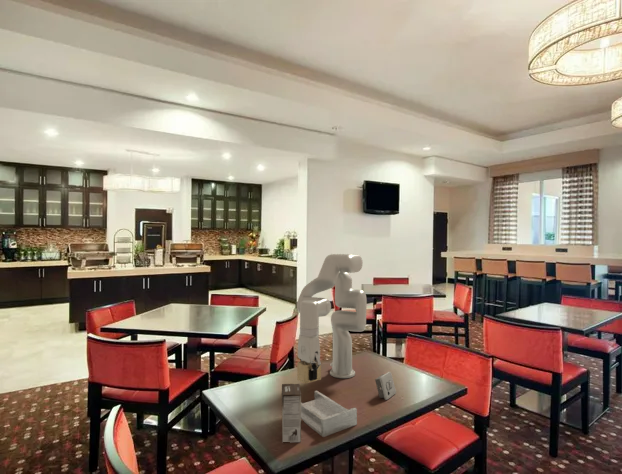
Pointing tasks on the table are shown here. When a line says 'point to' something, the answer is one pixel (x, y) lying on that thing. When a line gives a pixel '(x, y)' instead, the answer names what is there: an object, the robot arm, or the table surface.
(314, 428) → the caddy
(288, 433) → the coffee box
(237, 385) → the table surface
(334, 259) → the robot arm
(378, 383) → the electrical switch
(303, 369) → the tan cardboard box
